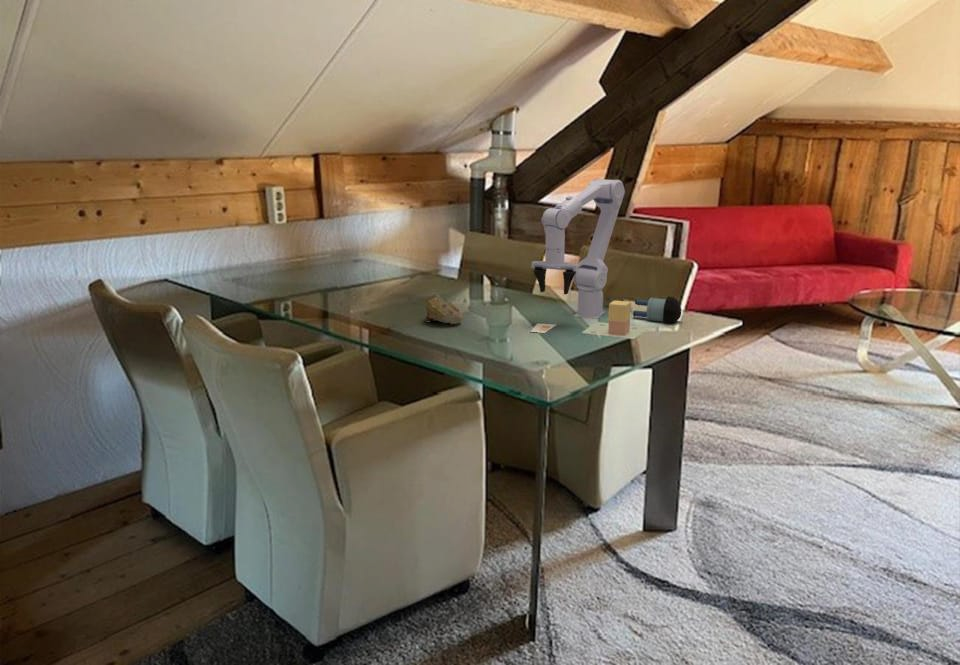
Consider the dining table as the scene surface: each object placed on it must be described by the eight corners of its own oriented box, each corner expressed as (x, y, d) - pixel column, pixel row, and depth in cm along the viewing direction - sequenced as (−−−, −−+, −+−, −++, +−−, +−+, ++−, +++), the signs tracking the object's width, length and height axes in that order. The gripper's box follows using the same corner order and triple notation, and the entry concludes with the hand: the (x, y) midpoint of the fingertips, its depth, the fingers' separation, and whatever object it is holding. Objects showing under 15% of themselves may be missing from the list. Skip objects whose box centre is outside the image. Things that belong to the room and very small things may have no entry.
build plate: (595, 323, 231) (596, 321, 230) (646, 328, 224) (646, 326, 224) (581, 334, 219) (581, 332, 218) (634, 340, 212) (634, 338, 212)
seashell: (445, 334, 226) (447, 302, 222) (415, 321, 235) (416, 290, 232) (471, 328, 233) (473, 297, 230) (441, 315, 243) (442, 286, 240)
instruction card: (537, 324, 230) (537, 323, 230) (559, 325, 228) (559, 324, 228) (530, 332, 221) (530, 331, 221) (553, 334, 219) (553, 333, 219)
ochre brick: (613, 316, 220) (613, 300, 219) (629, 318, 218) (630, 301, 217) (608, 320, 216) (609, 304, 215) (625, 322, 214) (625, 305, 213)
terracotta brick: (613, 329, 222) (613, 316, 221) (629, 331, 220) (630, 318, 218) (608, 333, 217) (608, 320, 216) (624, 335, 215) (625, 322, 214)
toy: (633, 324, 237) (680, 329, 230) (627, 314, 229) (675, 318, 222) (639, 300, 239) (685, 304, 232) (632, 289, 232) (680, 293, 225)
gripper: (527, 249, 222) (527, 293, 225) (573, 252, 215) (572, 297, 219) (536, 245, 228) (536, 288, 232) (581, 248, 222) (580, 292, 225)
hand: (554, 292), depth 226 cm, fingers open, 7 cm apart
